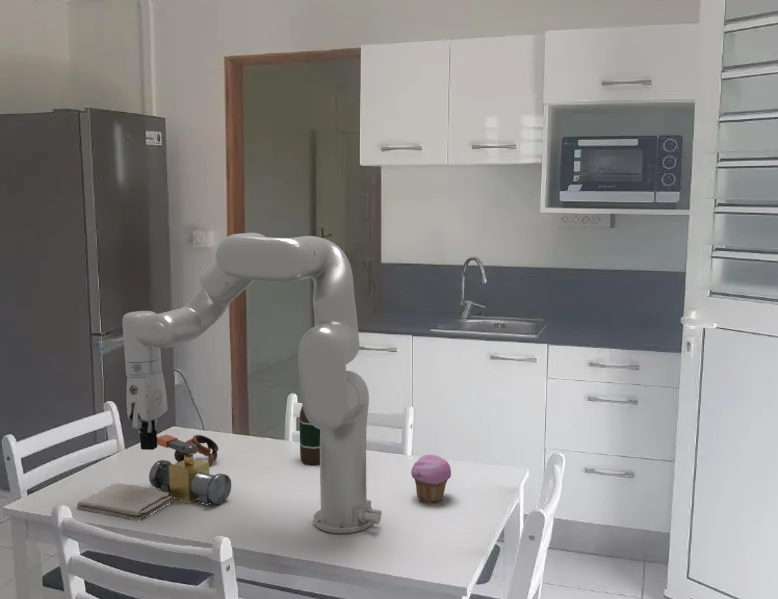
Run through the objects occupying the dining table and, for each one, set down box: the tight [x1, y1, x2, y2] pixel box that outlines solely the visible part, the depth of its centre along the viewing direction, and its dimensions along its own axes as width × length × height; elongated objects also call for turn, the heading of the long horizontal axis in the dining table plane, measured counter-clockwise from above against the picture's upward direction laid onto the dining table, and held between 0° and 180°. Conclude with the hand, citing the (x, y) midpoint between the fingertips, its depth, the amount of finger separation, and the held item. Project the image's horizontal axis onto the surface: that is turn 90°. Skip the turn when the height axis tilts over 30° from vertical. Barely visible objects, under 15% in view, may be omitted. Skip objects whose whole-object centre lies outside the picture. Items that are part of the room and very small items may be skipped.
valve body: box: [148, 454, 232, 505], centre depth 173 cm, size 19×6×10 cm, turn 59°
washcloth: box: [76, 482, 175, 521], centre depth 168 cm, size 12×18×3 cm, turn 69°
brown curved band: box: [173, 434, 219, 467], centre depth 194 cm, size 12×10×8 cm
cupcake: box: [410, 454, 452, 503], centre depth 171 cm, size 9×9×10 cm
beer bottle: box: [299, 406, 320, 466], centre depth 196 cm, size 8×8×24 cm
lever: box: [157, 434, 198, 455], centre depth 175 cm, size 4×13×2 cm, turn 48°
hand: (149, 448), depth 170 cm, fingers closed
